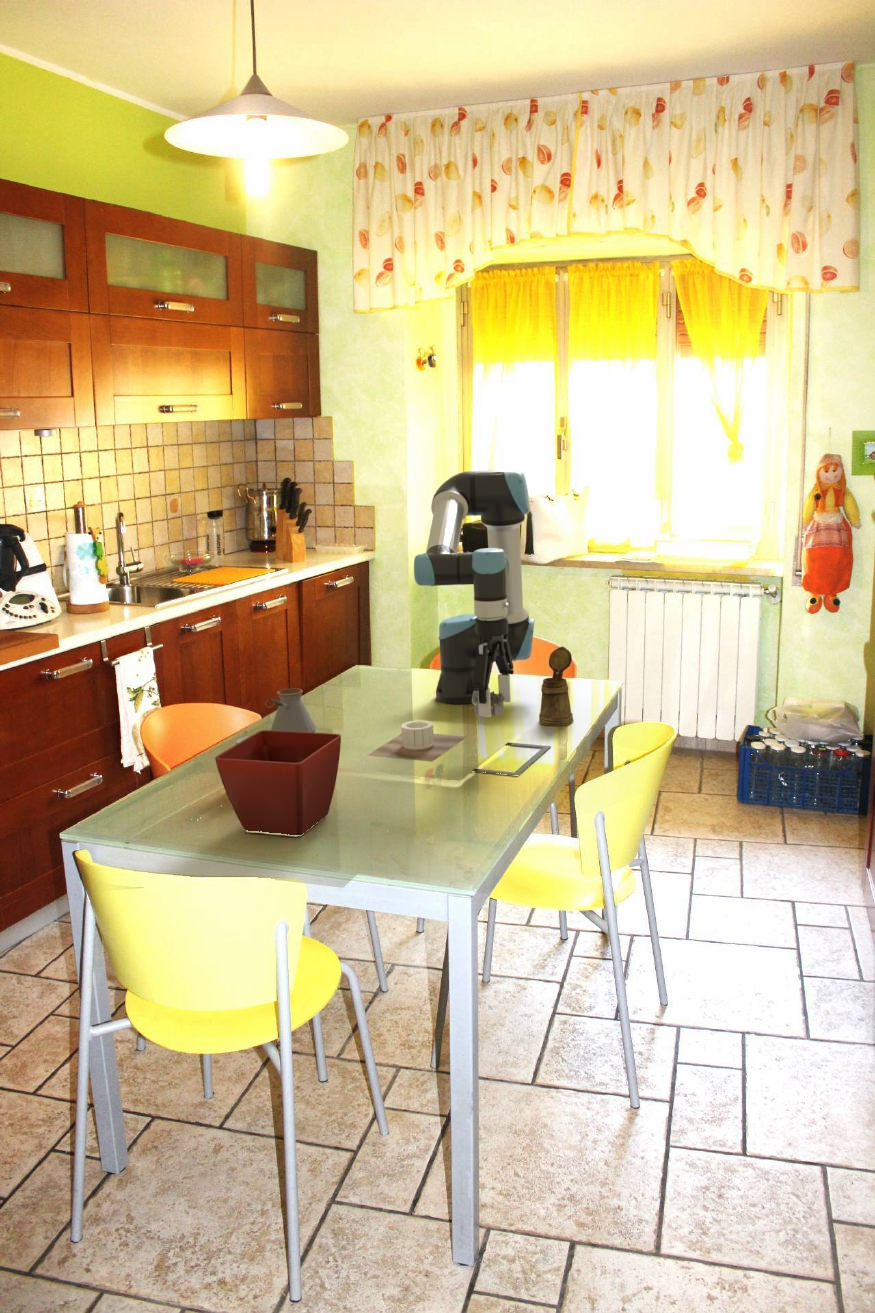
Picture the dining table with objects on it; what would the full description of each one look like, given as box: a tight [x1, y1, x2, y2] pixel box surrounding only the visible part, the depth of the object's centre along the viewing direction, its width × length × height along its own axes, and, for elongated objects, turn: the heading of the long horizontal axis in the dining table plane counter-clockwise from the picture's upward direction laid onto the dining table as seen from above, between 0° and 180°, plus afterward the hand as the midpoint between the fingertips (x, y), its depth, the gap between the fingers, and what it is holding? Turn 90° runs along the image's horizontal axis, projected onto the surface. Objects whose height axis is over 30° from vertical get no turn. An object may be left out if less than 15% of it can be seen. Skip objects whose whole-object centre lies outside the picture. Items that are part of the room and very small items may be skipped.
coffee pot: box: [264, 687, 317, 733], centre depth 275 cm, size 21×12×15 cm, turn 169°
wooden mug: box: [538, 645, 574, 727], centre depth 286 cm, size 9×14×18 cm, turn 159°
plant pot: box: [214, 729, 342, 835], centre depth 222 cm, size 19×19×17 cm
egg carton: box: [471, 690, 505, 718], centre depth 257 cm, size 11×8×4 cm
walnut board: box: [367, 733, 467, 762], centre depth 268 cm, size 20×17×1 cm
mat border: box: [472, 741, 552, 776], centre depth 259 cm, size 22×19×1 cm
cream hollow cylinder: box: [401, 720, 434, 750], centre depth 267 cm, size 8×8×5 cm
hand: (495, 708), depth 257 cm, fingers closed on egg carton, 11 cm apart
